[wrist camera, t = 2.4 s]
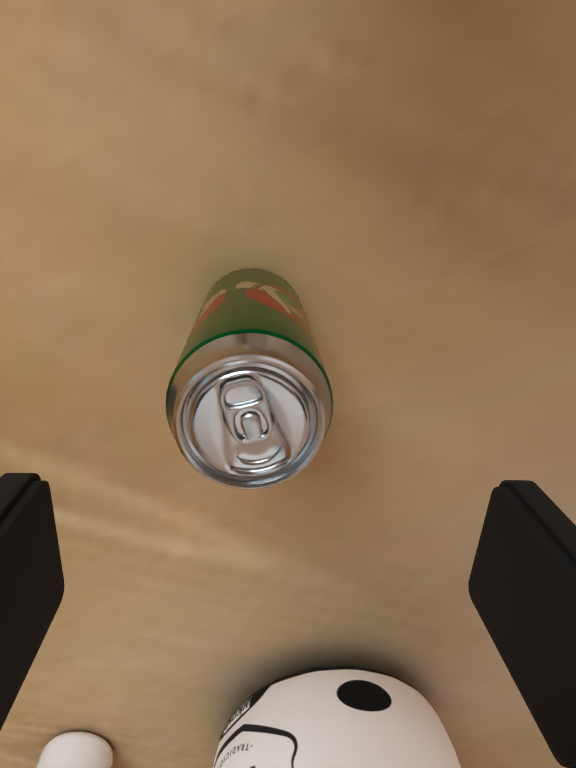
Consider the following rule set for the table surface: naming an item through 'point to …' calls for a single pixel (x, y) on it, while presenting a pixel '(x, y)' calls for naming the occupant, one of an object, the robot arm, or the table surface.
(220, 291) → the soda can
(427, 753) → the milk container
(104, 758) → the drinking glass
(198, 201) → the table surface
